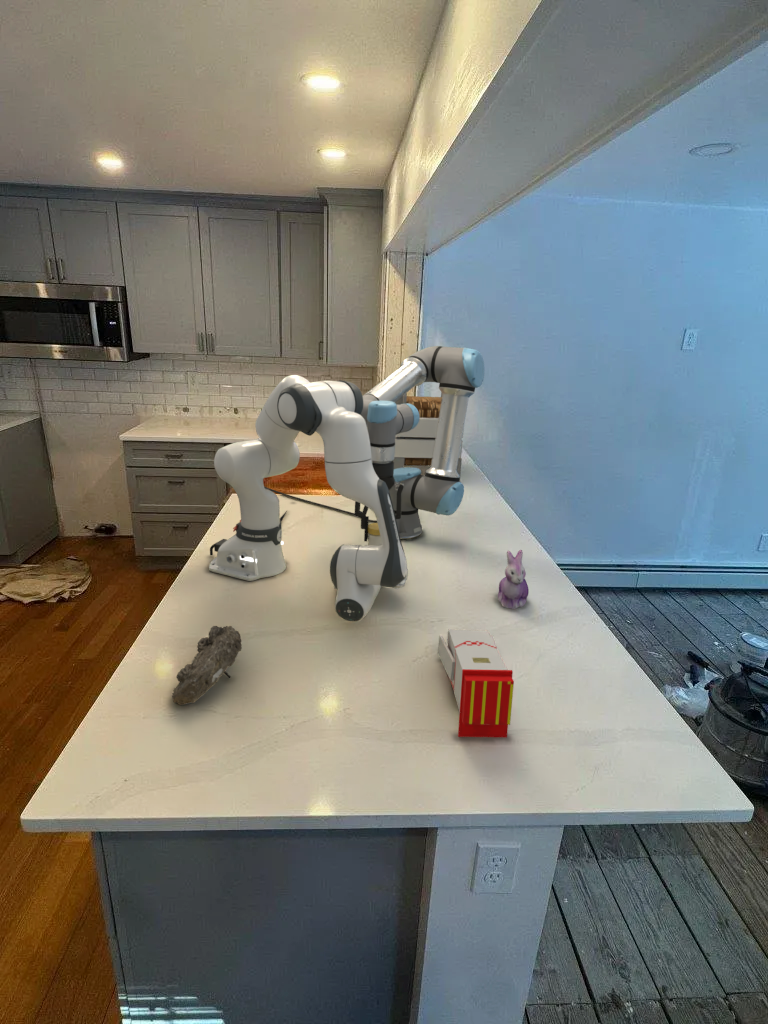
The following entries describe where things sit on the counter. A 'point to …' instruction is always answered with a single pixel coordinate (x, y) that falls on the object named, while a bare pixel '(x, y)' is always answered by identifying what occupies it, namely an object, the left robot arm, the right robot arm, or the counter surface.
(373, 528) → the lid
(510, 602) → the figurine
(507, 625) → the counter surface
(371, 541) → the jar
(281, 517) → the feather
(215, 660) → the fossil
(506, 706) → the toy
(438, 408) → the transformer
